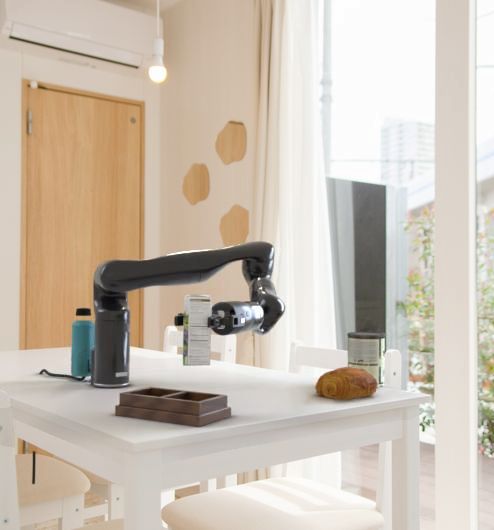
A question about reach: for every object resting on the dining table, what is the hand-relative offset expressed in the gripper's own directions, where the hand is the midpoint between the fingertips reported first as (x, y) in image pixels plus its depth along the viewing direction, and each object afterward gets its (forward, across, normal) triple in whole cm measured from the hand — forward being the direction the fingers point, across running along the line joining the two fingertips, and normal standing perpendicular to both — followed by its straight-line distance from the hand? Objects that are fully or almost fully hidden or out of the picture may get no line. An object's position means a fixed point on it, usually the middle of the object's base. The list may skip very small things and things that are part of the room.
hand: (192, 321), depth 144 cm
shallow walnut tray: (+1, +4, -20) cm, 20 cm away
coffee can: (-63, -16, -20) cm, 68 cm away
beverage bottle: (-26, +53, -20) cm, 62 cm away
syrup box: (-2, 0, -9) cm, 9 cm away
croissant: (-43, -17, -20) cm, 50 cm away
